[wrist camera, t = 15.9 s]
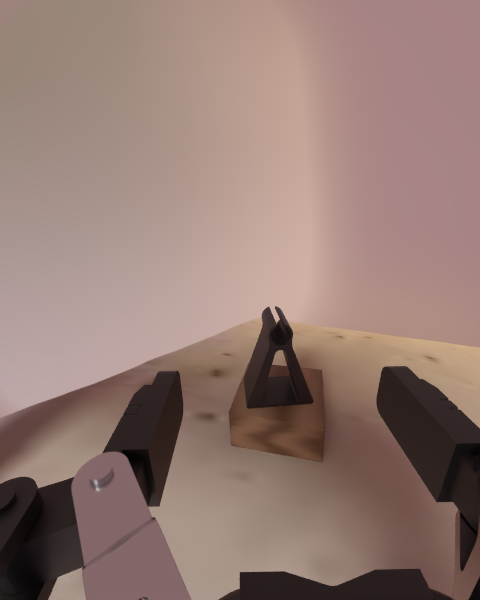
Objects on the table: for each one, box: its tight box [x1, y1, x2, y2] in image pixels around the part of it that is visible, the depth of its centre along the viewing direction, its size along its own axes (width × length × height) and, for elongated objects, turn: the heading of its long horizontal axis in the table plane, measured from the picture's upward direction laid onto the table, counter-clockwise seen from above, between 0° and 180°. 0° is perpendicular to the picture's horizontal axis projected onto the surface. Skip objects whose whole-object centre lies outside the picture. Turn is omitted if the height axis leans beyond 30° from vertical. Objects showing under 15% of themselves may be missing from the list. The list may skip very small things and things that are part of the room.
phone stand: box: [244, 307, 314, 409], centre depth 37 cm, size 9×6×12 cm, turn 93°
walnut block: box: [229, 364, 325, 462], centre depth 40 cm, size 12×12×6 cm
